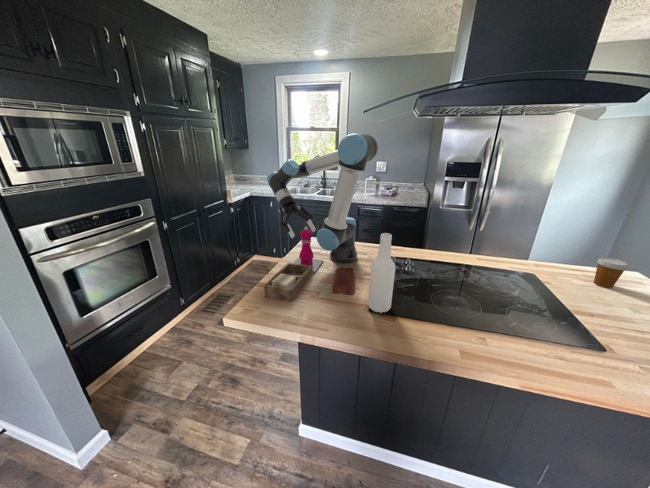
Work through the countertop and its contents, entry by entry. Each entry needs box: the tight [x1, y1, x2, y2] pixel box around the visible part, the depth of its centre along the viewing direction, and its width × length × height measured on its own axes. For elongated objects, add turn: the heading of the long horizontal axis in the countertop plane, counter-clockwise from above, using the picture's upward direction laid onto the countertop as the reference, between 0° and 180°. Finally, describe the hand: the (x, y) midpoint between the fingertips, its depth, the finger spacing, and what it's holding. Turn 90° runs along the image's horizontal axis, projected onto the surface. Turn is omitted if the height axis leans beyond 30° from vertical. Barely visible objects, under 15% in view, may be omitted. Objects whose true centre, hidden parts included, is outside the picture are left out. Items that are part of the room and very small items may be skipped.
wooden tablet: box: [331, 266, 356, 296], centre depth 123 cm, size 27×10×2 cm, turn 173°
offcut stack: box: [272, 274, 296, 289], centre depth 112 cm, size 9×9×6 cm
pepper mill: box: [298, 226, 314, 265], centre depth 133 cm, size 7×7×20 cm
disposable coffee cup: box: [593, 257, 629, 289], centre depth 119 cm, size 10×10×12 cm
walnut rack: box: [263, 261, 313, 302], centre depth 117 cm, size 12×24×5 cm, turn 163°
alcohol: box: [367, 232, 396, 314], centre depth 98 cm, size 9×9×30 cm
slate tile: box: [293, 256, 324, 274], centre depth 137 cm, size 14×14×1 cm
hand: (304, 234), depth 132 cm, fingers open, 13 cm apart
